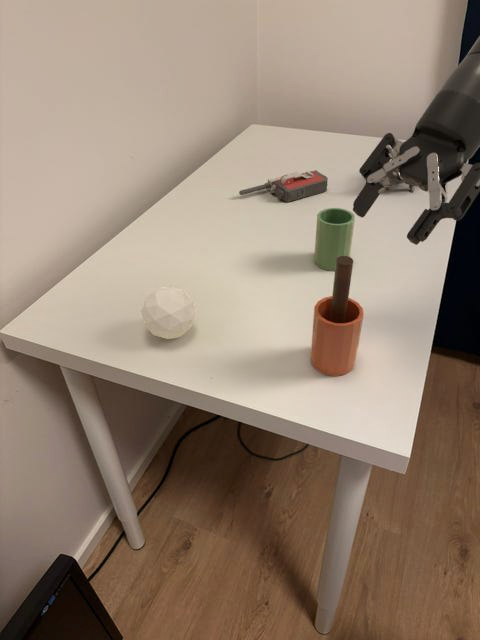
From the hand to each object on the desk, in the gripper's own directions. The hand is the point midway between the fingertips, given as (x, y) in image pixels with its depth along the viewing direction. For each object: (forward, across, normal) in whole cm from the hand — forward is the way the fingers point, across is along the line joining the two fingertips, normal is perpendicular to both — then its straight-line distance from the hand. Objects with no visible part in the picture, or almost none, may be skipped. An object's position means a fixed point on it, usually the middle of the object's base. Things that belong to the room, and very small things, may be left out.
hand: (383, 227), depth 59 cm
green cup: (+5, -19, +22) cm, 29 cm away
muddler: (+17, 0, +9) cm, 19 cm away
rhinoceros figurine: (-18, -32, +45) cm, 58 cm away
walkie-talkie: (-3, -46, +30) cm, 54 cm away
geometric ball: (+28, -19, -2) cm, 35 cm away
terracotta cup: (+18, 0, +9) cm, 20 cm away
